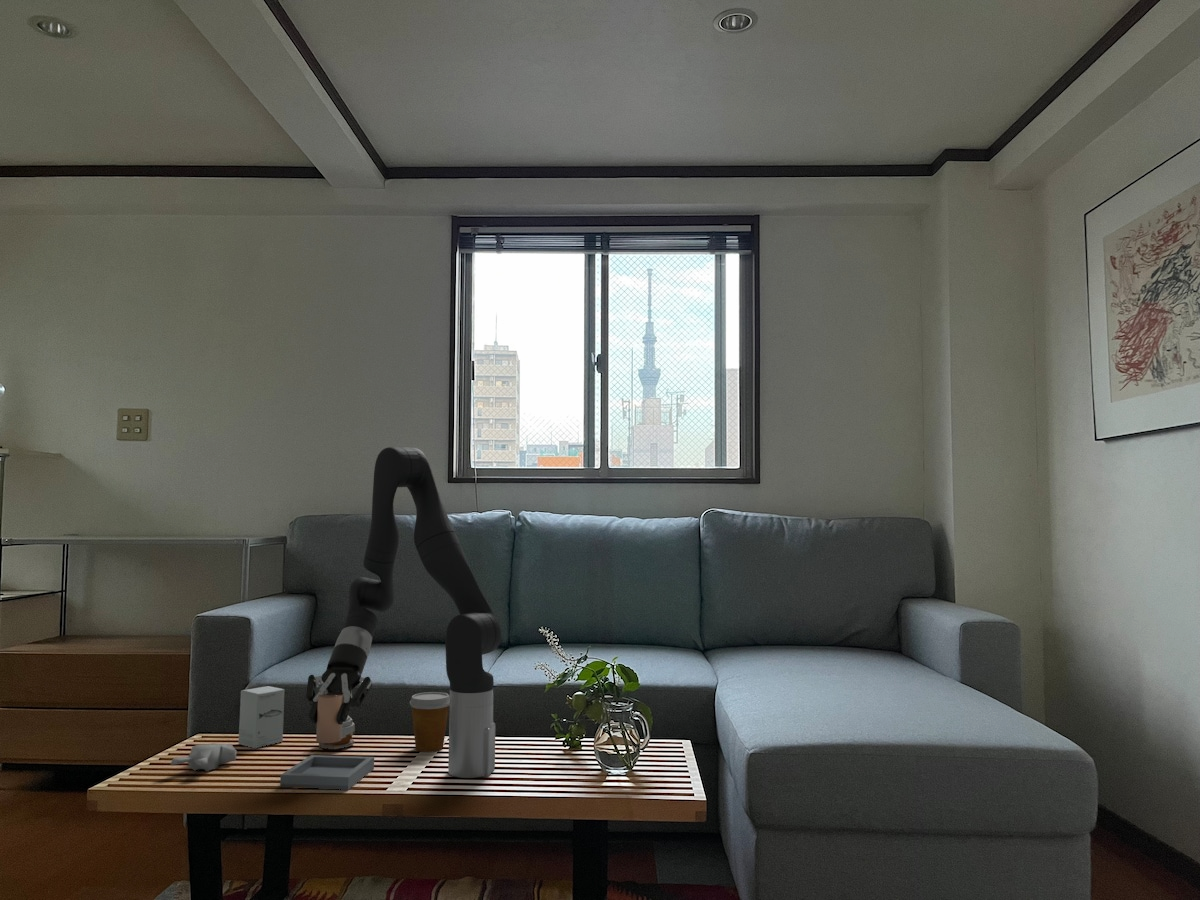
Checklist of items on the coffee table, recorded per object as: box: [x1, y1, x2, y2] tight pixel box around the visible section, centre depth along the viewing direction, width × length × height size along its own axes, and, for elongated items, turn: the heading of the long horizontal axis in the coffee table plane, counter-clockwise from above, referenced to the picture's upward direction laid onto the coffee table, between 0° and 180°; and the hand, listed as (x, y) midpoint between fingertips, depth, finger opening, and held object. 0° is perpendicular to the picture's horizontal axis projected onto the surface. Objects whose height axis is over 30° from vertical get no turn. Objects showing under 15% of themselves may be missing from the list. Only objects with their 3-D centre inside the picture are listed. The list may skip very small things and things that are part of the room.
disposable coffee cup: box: [409, 691, 450, 753], centre depth 195 cm, size 10×10×12 cm
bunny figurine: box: [169, 743, 237, 772], centre depth 179 cm, size 10×5×15 cm
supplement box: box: [238, 685, 285, 749], centre depth 199 cm, size 7×7×13 cm
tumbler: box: [315, 693, 344, 744], centre depth 173 cm, size 5×5×9 cm
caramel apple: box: [318, 715, 356, 750], centre depth 196 cm, size 8×8×15 cm
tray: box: [279, 754, 375, 791], centre depth 172 cm, size 14×14×2 cm
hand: (326, 721), depth 171 cm, fingers closed on tumbler, 5 cm apart
